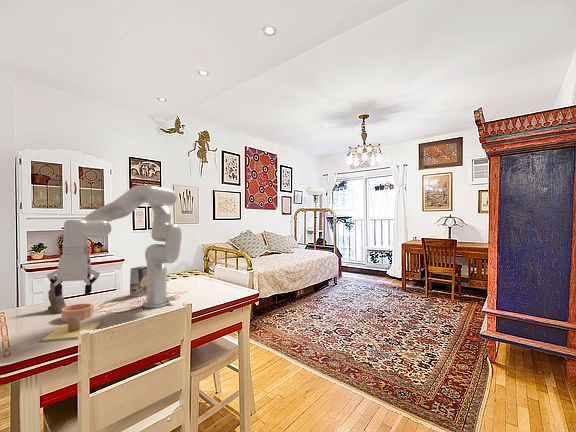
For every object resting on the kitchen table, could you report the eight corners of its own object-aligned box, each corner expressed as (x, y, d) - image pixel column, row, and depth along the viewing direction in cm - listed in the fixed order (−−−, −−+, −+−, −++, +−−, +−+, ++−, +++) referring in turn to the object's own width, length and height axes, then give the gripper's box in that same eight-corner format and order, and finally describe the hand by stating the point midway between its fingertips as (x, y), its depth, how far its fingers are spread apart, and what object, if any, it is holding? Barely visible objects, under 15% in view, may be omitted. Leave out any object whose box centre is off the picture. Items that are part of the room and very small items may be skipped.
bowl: (96, 313, 131) (97, 302, 131) (86, 321, 121) (86, 310, 121) (69, 315, 128) (69, 304, 129) (55, 323, 118) (56, 312, 118)
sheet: (101, 323, 117) (101, 310, 117) (86, 337, 104) (86, 322, 104) (62, 326, 114) (62, 312, 114) (41, 341, 100) (42, 325, 100)
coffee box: (139, 297, 159) (140, 269, 159) (129, 296, 160) (129, 268, 160) (149, 293, 168) (150, 266, 168) (140, 292, 169) (140, 266, 169)
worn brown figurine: (47, 314, 135) (44, 277, 138) (61, 311, 140) (58, 275, 142) (54, 314, 129) (51, 275, 131) (68, 311, 133) (66, 273, 135)
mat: (104, 323, 119) (104, 322, 119) (88, 339, 103) (88, 338, 103) (60, 327, 114) (60, 325, 114) (36, 344, 99) (36, 342, 99)
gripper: (103, 250, 115) (102, 291, 114) (54, 250, 110) (52, 293, 110) (96, 252, 108) (94, 296, 107) (43, 252, 103) (41, 298, 103)
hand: (73, 295), depth 108 cm, fingers open, 9 cm apart
